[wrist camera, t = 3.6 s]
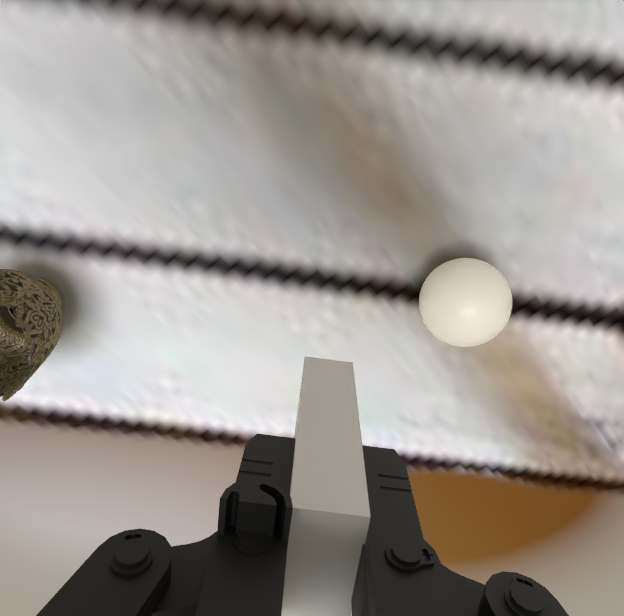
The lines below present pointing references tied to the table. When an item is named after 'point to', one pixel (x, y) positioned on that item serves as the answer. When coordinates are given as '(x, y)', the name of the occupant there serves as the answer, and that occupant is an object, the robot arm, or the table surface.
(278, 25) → the table surface
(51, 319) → the cup
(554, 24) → the table surface
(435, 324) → the cue ball
